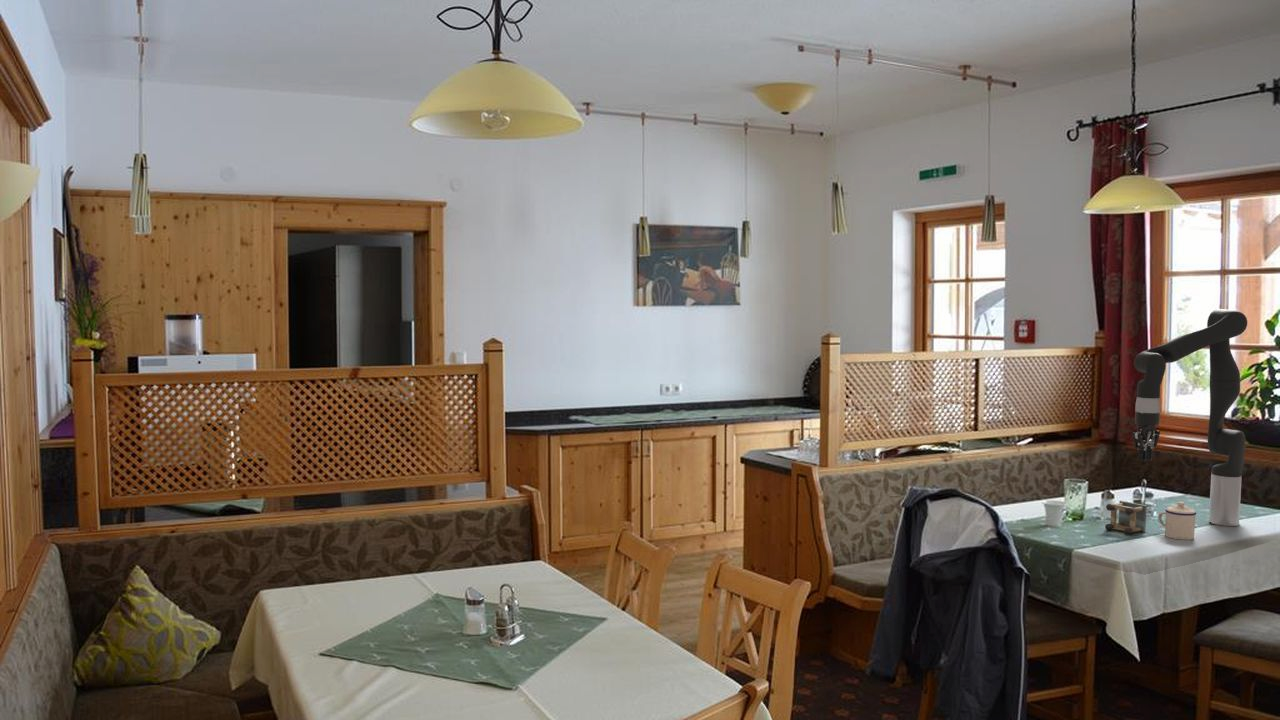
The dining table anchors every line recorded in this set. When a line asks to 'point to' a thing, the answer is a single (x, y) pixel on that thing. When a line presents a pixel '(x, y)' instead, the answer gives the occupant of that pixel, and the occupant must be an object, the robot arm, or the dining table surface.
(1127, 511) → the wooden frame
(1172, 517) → the teacup with lid
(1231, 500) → the robot arm
